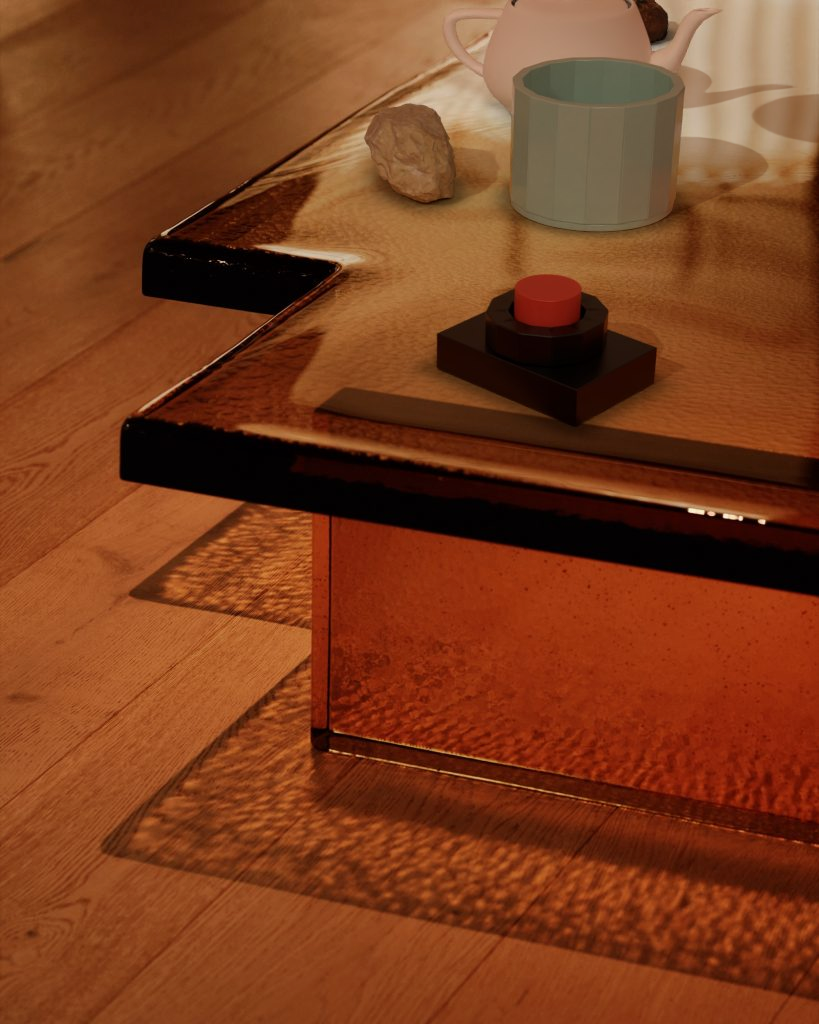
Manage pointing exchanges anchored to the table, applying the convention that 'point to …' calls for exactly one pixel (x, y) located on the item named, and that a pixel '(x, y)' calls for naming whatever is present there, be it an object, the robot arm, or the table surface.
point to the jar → (595, 143)
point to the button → (547, 300)
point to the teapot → (564, 37)
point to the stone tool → (412, 151)
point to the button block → (548, 360)
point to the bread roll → (653, 19)
